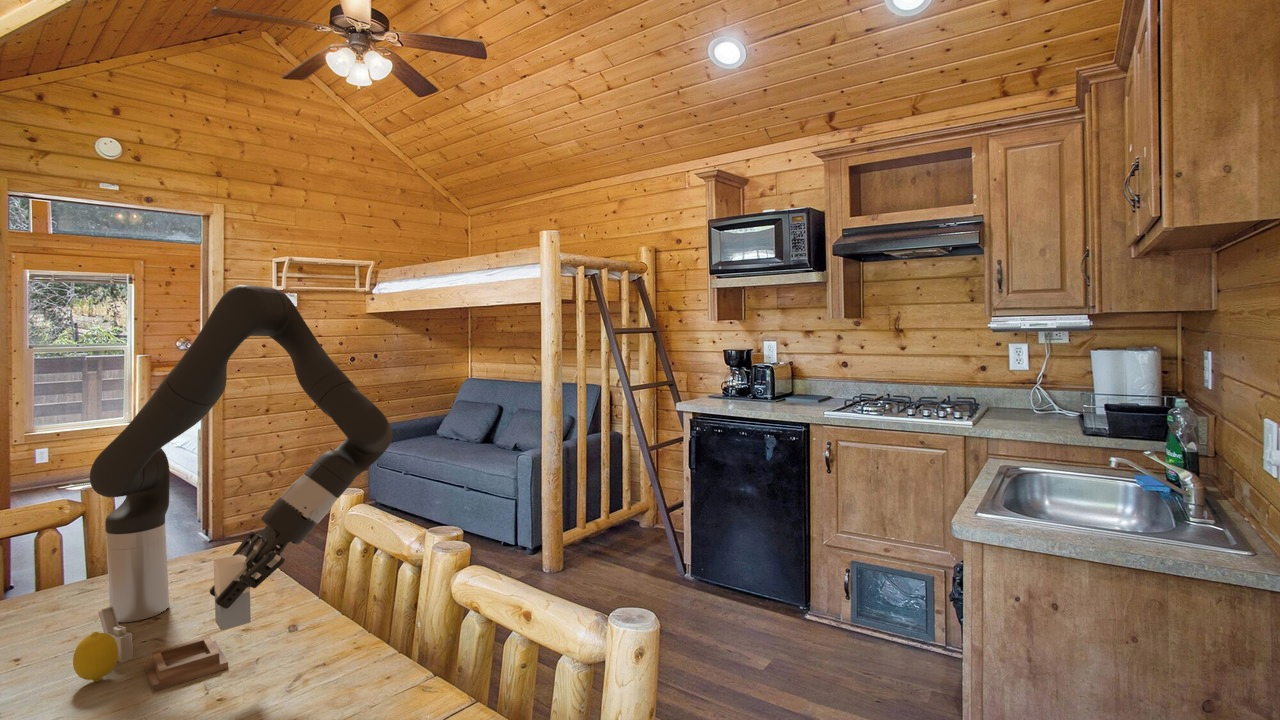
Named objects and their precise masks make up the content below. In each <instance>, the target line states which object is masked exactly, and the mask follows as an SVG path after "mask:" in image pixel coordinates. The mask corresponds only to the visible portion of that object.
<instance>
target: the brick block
mask: <svg viewBox="0 0 1280 720" xmlns="http://www.w3.org/2000/svg"><path fill="white" fill-rule="evenodd" d="M245 560H246V557H245V555H240V554H239V555H234V556H232V555H231V556H230V555H229V556H225V557H220V558H216V559H213V579H214V580H213V581H214V582H213V583H214V584H213V586H214V587H215V597H214V609H215V610H214V611H215V612H214V613H215V615H214V616H215V624H216V625H217V626H218V628H219V630H220V631H221V632H222V631H224V630H228V629H232V628H236V627H240V626H243V625H246V624H251V622H252V619H251V617H252V616H251V587H250V588H246V589H245V590H244V591H243V593H242V594H241V595H240V596H239V597H238V598H237V599H236V600H235V602H234V603H233V604H232V605H231V606H230V607H229V608H227V609H225V608H223V607H221V606H219V605H218V604H217V603H216V599H217V598H218V596H219V595H220V594H221V593H222V592H223V591H224V590H225V589H226V588H227V587H228V586H229V584H230V583H231V582H232V581H233V580H234V581H235V578H236V576H237V575H238V574H239V573H240V571H241V570H242V569H243V568H244V565H243V564H244V562H245ZM248 571H249V570H248Z"/></svg>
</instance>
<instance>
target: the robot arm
mask: <svg viewBox="0 0 1280 720" xmlns="http://www.w3.org/2000/svg"><path fill="white" fill-rule="evenodd" d="M308 326H309V325H308V324H307V323H306V322H305V319H303V317H302V315H301V313H300V311H299V310H298V309H297V307H296V306H295V304H294V303H293V301H292V300H291V299H290V297H289V296H288V295H287V294H286V293H284V292H283V291H282V290H280V289H277V288H274V287H268V286H267V287H266V286H260V285H250V284H238V285H235V286H233V287H232V288H230V289H228V290H226V292H225V293H223V295H222V296H221V297H220V299H219V300H218V301H217V303H216V304H215V306H214V308H213V310H212V311H211V313H210V315H209V317H208V319H207V320H206V321H205V324H204V325H203V327H202V329H201V330H200V332H199V333H198V334H197V336H196V338H195V339H194V341H192V343H191V344H190V346H189V347H188V349H187V350H186V352H184V354H183V355H182V357H181V358H180V359H179V360H178V362H177V363H176V364H175V366H174V367H173V368H172V369H171V370H170V372H169V373H168V374H167V375H166V377H165V378H164V379H162V382H161V383H160V384H159V385H158V387H157V388H156V389H155V391H154V392H153V394H152V395H151V397H150V398H149V399H148V401H147V402H146V403H145V404H144V405H143V407H142V408H141V409H140V410H139V411H138V413H137V414H136V415H135V416H134V417H133V418H132V420H131V421H130V422H129V424H128V425H127V426H126V427H125V428H124V429H123V430H122V431H121V432H120V433H119V434H118V435H117V436H116V437H115V438H114V439H113V440H112V441H110V443H109V444H108V445H107V446H106V447H105V448H104V449H103V450H102V451H101V452H100V453H99V454H98V455H97V456H96V458H95V459H94V461H93V463H92V465H91V467H90V471H89V472H90V473H89V482H90V486H91V488H92V489H93V491H94V492H95V493H96V494H98V495H100V496H101V497H105V498H119V497H120V498H121V497H125V499H123V500H124V501H123V502H122V503H121V504H120V505H119V506H118V507H117V508H115V510H113V511H112V512H111V513H109V514H108V515H107V516H106V517H105V522H104V523H105V525H104V527H105V541H106V543H105V544H106V558H107V561H106V562H107V574H108V576H107V577H108V579H107V580H108V595H109V596H108V597H109V598H108V599H109V600H108V602H109V607H111V606H113V607H114V610H115V613H116V617H117V620H118V623H131V622H137V621H142V620H145V619H149V618H153V617H155V616H157V615H160V614H162V613H164V612H165V611H167V610H168V609H169V607H170V596H169V595H170V593H169V592H170V591H169V590H170V589H169V572H168V571H169V570H168V554H167V552H168V550H167V547H168V546H167V532H166V531H167V530H166V515H167V512H168V510H169V506H170V479H171V477H170V462H169V460H168V457H167V454H166V452H165V451H164V449H162V448H163V447H165V445H167V444H169V443H170V442H172V441H173V440H175V439H177V437H179V436H181V435H183V434H184V433H185V432H187V431H188V430H190V429H192V428H193V427H194V426H195V425H197V424H198V423H200V421H202V420H203V419H204V418H205V416H206V415H207V414H209V412H210V411H211V410H212V408H213V407H214V406H215V404H216V403H217V402H218V401H219V400H220V398H221V397H222V396H223V393H224V392H225V389H226V386H227V377H228V375H227V371H228V369H227V365H228V362H229V360H230V358H231V357H232V355H233V354H234V353H235V351H236V350H237V349H238V348H239V346H240V345H242V343H243V342H245V340H246V339H248V338H250V337H269V338H271V339H272V340H274V341H275V342H276V343H277V344H279V345H280V346H281V347H282V348H283V350H285V351H286V352H287V354H288V356H289V357H290V360H292V361H291V362H292V365H293V368H294V372H295V375H296V378H297V381H298V384H299V386H300V388H301V389H302V390H303V391H304V393H305V394H307V396H308V397H309V398H310V399H311V401H312V402H314V404H315V405H316V406H317V407H318V408H319V409H320V410H321V411H322V412H323V413H324V414H325V415H326V416H328V417H329V418H331V420H333V422H334V423H335V425H336V426H337V427H338V428H339V429H340V430H341V432H342V433H343V434H344V435H345V437H346V439H345V440H343V441H342V442H341V443H340V444H339V445H338V446H337V447H336V448H335V449H334V450H327V451H325V452H324V453H322V455H320V456H318V457H317V459H316V460H315V461H314V462H313V463H312V464H311V465H310V466H309V467H308V469H307V470H306V471H305V472H304V473H303V474H302V475H301V476H300V477H299V478H297V479H296V480H295V481H294V482H292V484H291V485H290V486H289V487H288V488H287V489H286V490H285V491H284V492H283V493H282V494H281V495H280V496H279V497H278V498H277V500H276V501H275V502H273V504H272V505H271V506H270V507H269V508H268V509H267V510H266V511H265V512H264V514H262V515H261V517H260V520H261V522H262V523H263V524H265V527H264V528H263V529H261V531H259V532H258V533H256V532H254V531H250V532H249V533H248V534H247V536H245V538H244V540H243V541H242V542H241V543H240V544H239V546H238V548H237V549H236V550H235V551H234V553H233V554H232V555H231V556H234V555H239V554H240V555H245V557H246V560H245V562H244V564H243V565H244V568H243V569H242V570H241V571H240V573H239V574H238V575H237V576H236V578H235V581H234V580H233V581H232V582H231V583H230V584H229V586H228V587H227V588H226V589H225V590H224V591H223V592H222V593H221V594H220V595H219V596H218V598H217V599H216V603H217V604H218V605H219V606H221V607H223V608H225V609H227V608H229V607H230V606H231V605H232V604H233V603H234V602H235V600H236V599H237V598H238V597H239V596H240V595H241V594H242V593H243V591H244V590H245V589H246V588H250V589H251V588H252V589H253V590H254V589H257V587H258V586H260V585H261V584H262V583H263V582H264V581H265V580H266V579H267V578H269V577H270V576H271V575H272V574H273V573H274V572H275V571H276V570H277V569H279V568H280V567H281V566H282V565H283V564H284V562H285V560H286V559H285V557H282V556H281V554H282V553H283V552H284V550H285V549H286V547H287V546H288V544H289V543H292V544H294V545H295V546H296V545H300V544H301V543H303V541H304V540H305V539H306V538H307V537H308V536H309V535H310V534H311V532H312V531H313V530H314V529H315V528H316V527H317V525H318V524H319V523H320V522H321V521H322V520H323V518H324V517H325V516H326V515H327V514H328V513H329V512H330V510H331V509H332V508H333V506H334V504H335V503H336V502H337V500H338V499H339V498H340V497H341V496H342V494H343V493H344V492H345V491H346V490H347V489H348V488H349V487H350V486H351V485H352V483H353V482H354V480H355V479H356V478H357V477H358V476H360V474H362V473H364V472H365V471H366V470H367V469H368V468H370V467H371V466H372V465H373V464H374V463H375V462H376V461H377V460H379V459H380V458H381V457H382V456H383V455H384V453H385V452H386V451H387V449H389V447H390V445H391V444H392V441H393V435H394V434H393V429H392V426H391V424H390V423H389V421H388V418H387V417H386V416H385V414H384V413H383V411H381V410H380V409H379V407H377V406H376V405H375V403H373V402H372V400H370V399H369V398H368V397H366V396H365V395H364V393H362V392H361V391H360V390H359V389H358V387H356V384H354V383H353V381H352V380H351V379H350V378H349V377H348V376H347V375H346V374H345V373H344V372H343V370H341V369H340V367H338V365H337V364H336V363H335V362H334V361H333V360H332V359H331V357H330V356H329V355H328V353H327V352H326V351H325V349H324V348H323V347H322V345H321V343H320V342H319V341H318V340H317V338H316V337H315V335H314V334H313V332H312V330H311V329H310V327H308ZM248 570H249V571H248ZM209 594H210V595H211V596H212V597H214V598H215V587H214V585H213V586H212V587H211V588H210V589H209ZM167 608H168V609H167ZM166 609H167V610H166ZM164 610H165V611H164ZM163 611H164V612H163ZM161 612H162V613H161Z"/></svg>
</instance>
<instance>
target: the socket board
mask: <svg viewBox="0 0 1280 720" xmlns="http://www.w3.org/2000/svg"><path fill="white" fill-rule="evenodd" d="M151 654H152V658H150V659H146V660H145V661H144V662H143V663H144V669H145V672H146V676H147V678H148V681H149V684H150V687H151V689H152V693H154V692H157V691H159V690H160V691H161V690H162V689H166V688H169V687H172V686H177V685H179V684H182V683H185V682H188V681H192V680H195V679H198V678H201V677H204V676H207V675H210V674H213V673H216V672H219V671H222V670H227V669H229V661H228V660H227V658H226V657H225V655H224V653H223V651H222V649H221V647H220V646H219V644H218V641H216V640H212V638H211V637H210V636H205V637H201V638H197V639H194V640H192V641H188V642H184V643H180V644H178V645H174V646H170V647H167V648H163V649H160V650H156V651H153V652H151Z"/></svg>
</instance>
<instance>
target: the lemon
mask: <svg viewBox="0 0 1280 720" xmlns="http://www.w3.org/2000/svg"><path fill="white" fill-rule="evenodd" d="M118 654H119V652H118V646H117V643H116V641H115V639H114V638H113V637H112V636H111V635H109V634H106V633H104V632H98V631H94V632H92V633H90V634H89V635H88V636H85V637H84V638H83V639H82V640H81V641H80V642H79V643H78V644H77V646H76V648H75V650H74V653H73V659H72V666H73V667H72V668H73V670H74V672H75V674H76V675H77V676H78V677H79V678H81V679H83V680H87V681H93V682H97V683H98V682H99V681H101V680H102V679H103V677H105V676H107V675H108V674H109V673H111V671H113V669H114V668H115V666H116V665H117V663H118V661H117V660H118Z"/></svg>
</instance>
